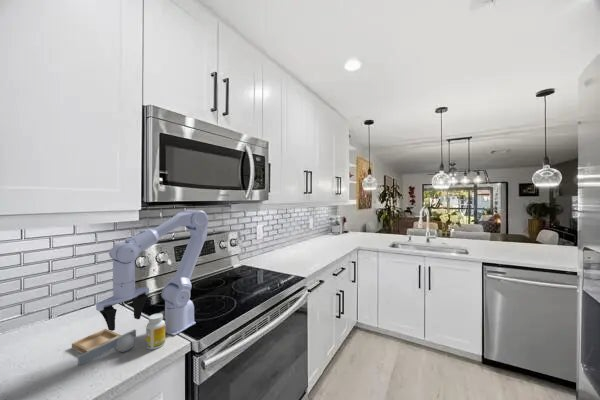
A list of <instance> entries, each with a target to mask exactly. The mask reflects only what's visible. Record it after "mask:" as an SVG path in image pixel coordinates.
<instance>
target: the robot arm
mask: <svg viewBox="0 0 600 400" xmlns="http://www.w3.org/2000/svg"><path fill="white" fill-rule="evenodd" d="M209 221H210V219H209V216H208V214H207V213H206V212H205V211H204V210H202V209H200V210H199V209H198V210H194V209H184V210H183V211H180V212H178V213H177V214H175V215H173V216H172V217H171V218H169V219H167V220H166V221H164V222H162V223H161V224H159V225H158V226H156V227H155V228H153V229H151V228H146V229H145V228H143V229H142V228H141V229H140V230H139V233H137V234H136V235H133V236H131V237H127V238H125V239H124V241H123V242H121V241H119V242H117V243H115V244H114V245H113V246H112V247H111V248H110V251H109V252H108V256H109V257H110V258H111V259H112V296H110V297H108V298H106V299H103V300H102V301H98V302H97V303H95V310H96V311H98V312H99V313H100V314H101V316H102V318H104V320H105V323H106V326H107V330H110V331H112V332H114V331H115V330H116V315H117V311H118V310H117V308H114V306H115V305H118V304H120V303H123V302H127V301H130V300H131V301H132V306H133V318H134V319H136V320H140V319H141V317H142V316H141V315H142V312H143V309H144V307H145V306H146V305H145V304H146V303H147V301H148V299H149V296H148V294H150V293H149V292H150V288H149V287H148V286H147V287H146V286H143V287H139V288H136V264H135V260H136V259H137V258H138V256H139V254H141V253H144V251H146V250H147V249H149V248H151V247H152V246H154V245H156V244H157V243H158V242H159V238H160V237H163V236H165V235H166V234H168V233H169V232H172V231H174V230H175V229H177V228H179V227H185V228H186V229H187V230H188V231H189V233H190V238H189V241H188V243H187V245H186V248H185V251H184V252H183V255H182V258H181V259H180V261H179V264H178V267H177V270H176V271H175V275H173V277H171V278H170V279H169V280H168V282H167V284H166V285H165V286H163V289H162V291H161V298H162V299H163V300H164V321H165V334H168V335H171V336H177V335H178V334H180V333H181V332H183V331H185V330H187V329H188V328H190V327H192V326H194V325H196V323H197V322H196V321H195V305H194V302H193V300H191V299H190V298H191V290H192V283H191V277H192V275H193V272H194V269H195V266H196V264H197V262H198V259H199V257H200V254H201V252H202V249H203V246H204V244H205V241H206V239H207V237H208V223H209Z"/></svg>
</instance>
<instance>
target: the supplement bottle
mask: <svg viewBox="0 0 600 400" xmlns="http://www.w3.org/2000/svg"><path fill="white" fill-rule="evenodd" d="M145 329H146V330H145V332H146V333H145V335H146V336H145V337H146V338H145V344H146V348H147V350H157V349H159V348H161V347H163V346H164V345H165V343H166V332H165V319H164V316H163V313H161V312H160V313H153V314H151V315H149V317H148V322H147V324H146V326H145Z"/></svg>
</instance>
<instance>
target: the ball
mask: <svg viewBox="0 0 600 400" xmlns="http://www.w3.org/2000/svg"><path fill="white" fill-rule="evenodd" d="M125 334H126V333H125ZM122 335H123V336H121V337H120V338H119V339H118V341H117V343H116V347H115V348H116V349H117V351H118V352H122V353H123V352H128V351H129V350H131V349H132V348H133V347H134V345H135V338H134V337H133V336H132V335H130V334H126V335H124V334H122Z"/></svg>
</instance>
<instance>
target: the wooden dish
mask: <svg viewBox="0 0 600 400" xmlns="http://www.w3.org/2000/svg"><path fill="white" fill-rule="evenodd" d="M121 335H122V334H120V333H116V332H114V331H111V330H108V328H104V329H102V330H99V331H97V332H95V333H93V334H90V335H87V336H86V337H82V338H81V339H78V340H77V341H74V342H72V343H71V349H73V350H75V351H77V352H79V353H81V354H84V353H86V352H88V351H90V350H92V349H94V348H96V347H98V346H100V345H103V344H105V343H107V342H109V341H111V340H113V339H115V338H117V337H119V336H121Z"/></svg>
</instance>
